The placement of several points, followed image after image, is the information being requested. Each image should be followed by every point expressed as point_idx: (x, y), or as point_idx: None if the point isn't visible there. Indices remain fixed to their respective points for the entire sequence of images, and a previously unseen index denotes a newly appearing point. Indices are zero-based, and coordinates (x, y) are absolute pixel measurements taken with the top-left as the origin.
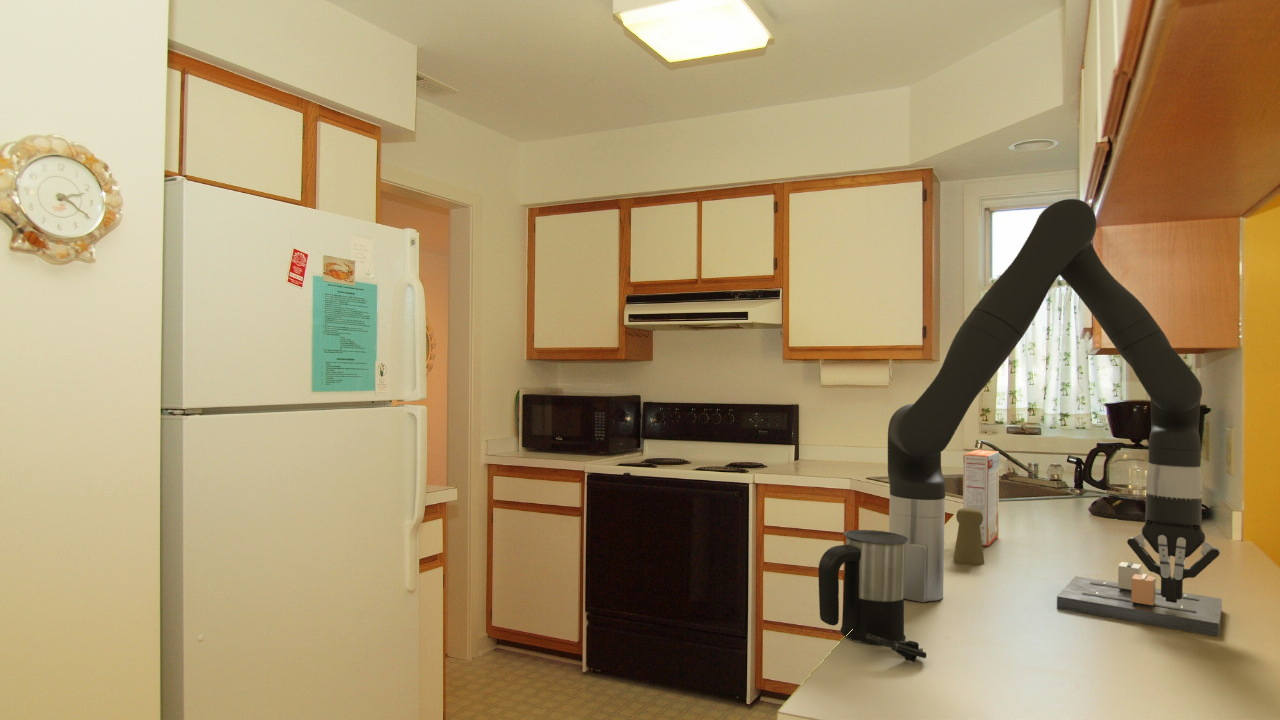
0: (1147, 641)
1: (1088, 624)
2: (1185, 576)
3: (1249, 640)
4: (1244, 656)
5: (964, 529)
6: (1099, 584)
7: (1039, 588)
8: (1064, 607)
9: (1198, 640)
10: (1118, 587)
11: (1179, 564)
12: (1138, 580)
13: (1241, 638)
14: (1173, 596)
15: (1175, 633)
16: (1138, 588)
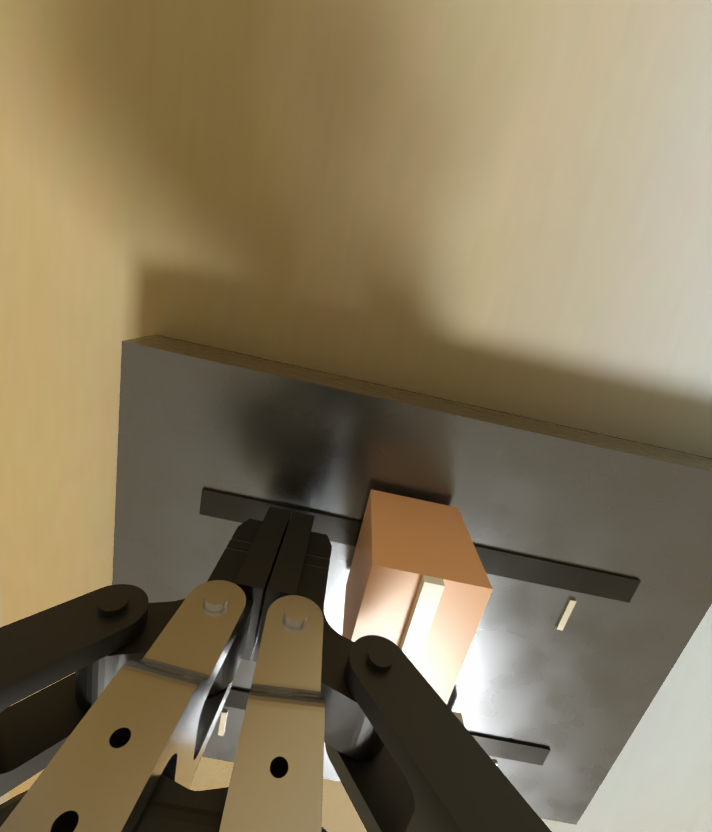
0: (457, 63)
1: (666, 251)
2: (168, 611)
3: (52, 345)
4: (67, 33)
5: None
6: (516, 746)
7: (697, 714)
8: (709, 459)
9: (233, 228)
10: (460, 714)
11: (161, 671)
12: (454, 576)
13: (78, 360)
14: (277, 520)
15: (311, 299)
16: (443, 545)
